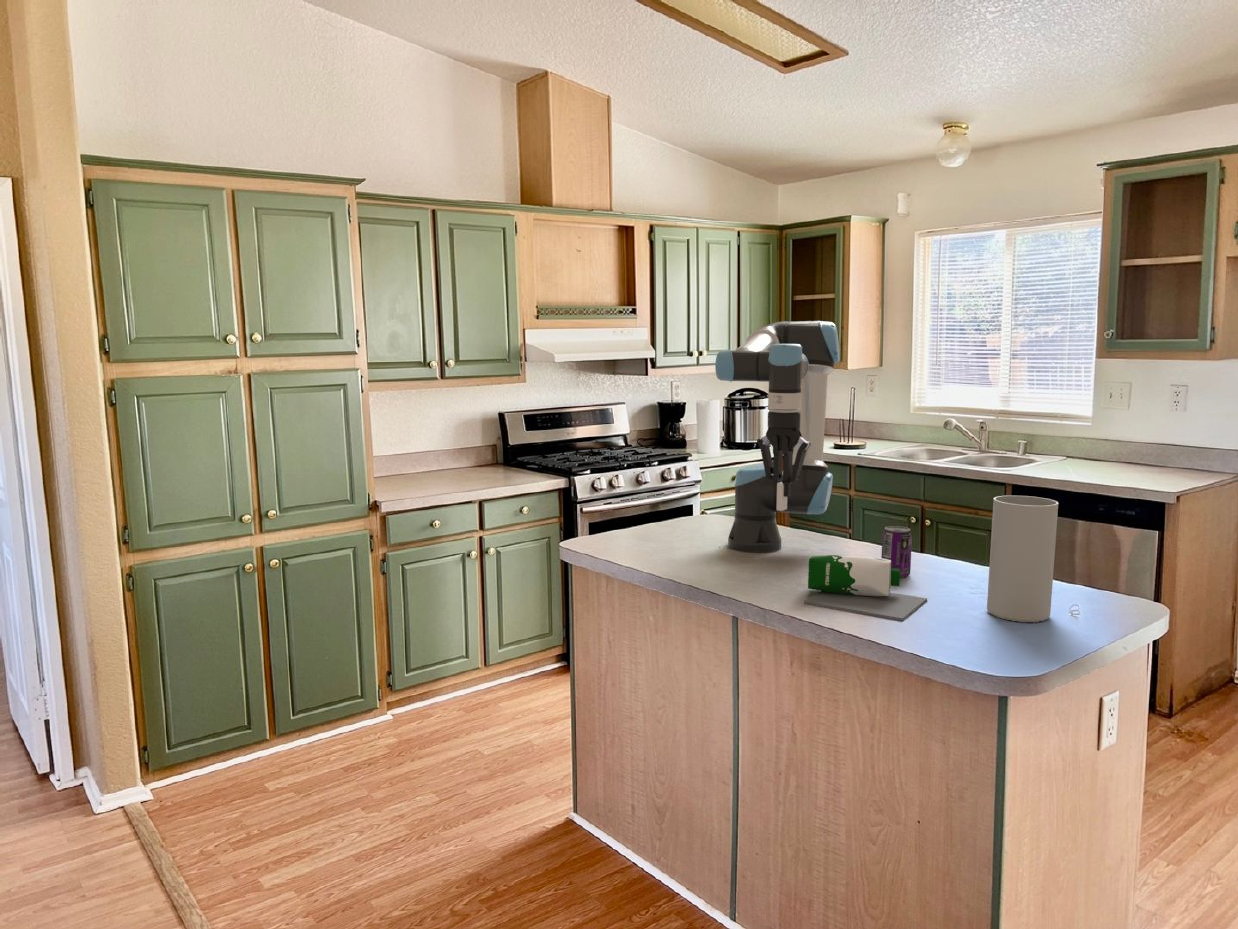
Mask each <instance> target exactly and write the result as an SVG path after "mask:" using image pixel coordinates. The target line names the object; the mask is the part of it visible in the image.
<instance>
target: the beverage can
mask: <svg viewBox="0 0 1238 929" xmlns="http://www.w3.org/2000/svg"><path fill="white" fill-rule="evenodd" d="M912 542H913V536H912V533H911V528H909V527H906V526H900V525H897V526H896V525H895V526H893V525H891V526H885V527H884V531H883V533H882V536H881V556H880V558H883V559H887V560H891V568H895V569H900V579H902V578H906V577H908V576H910V575H911V567H912V566H911V565H912V545H913V544H912Z"/></svg>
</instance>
